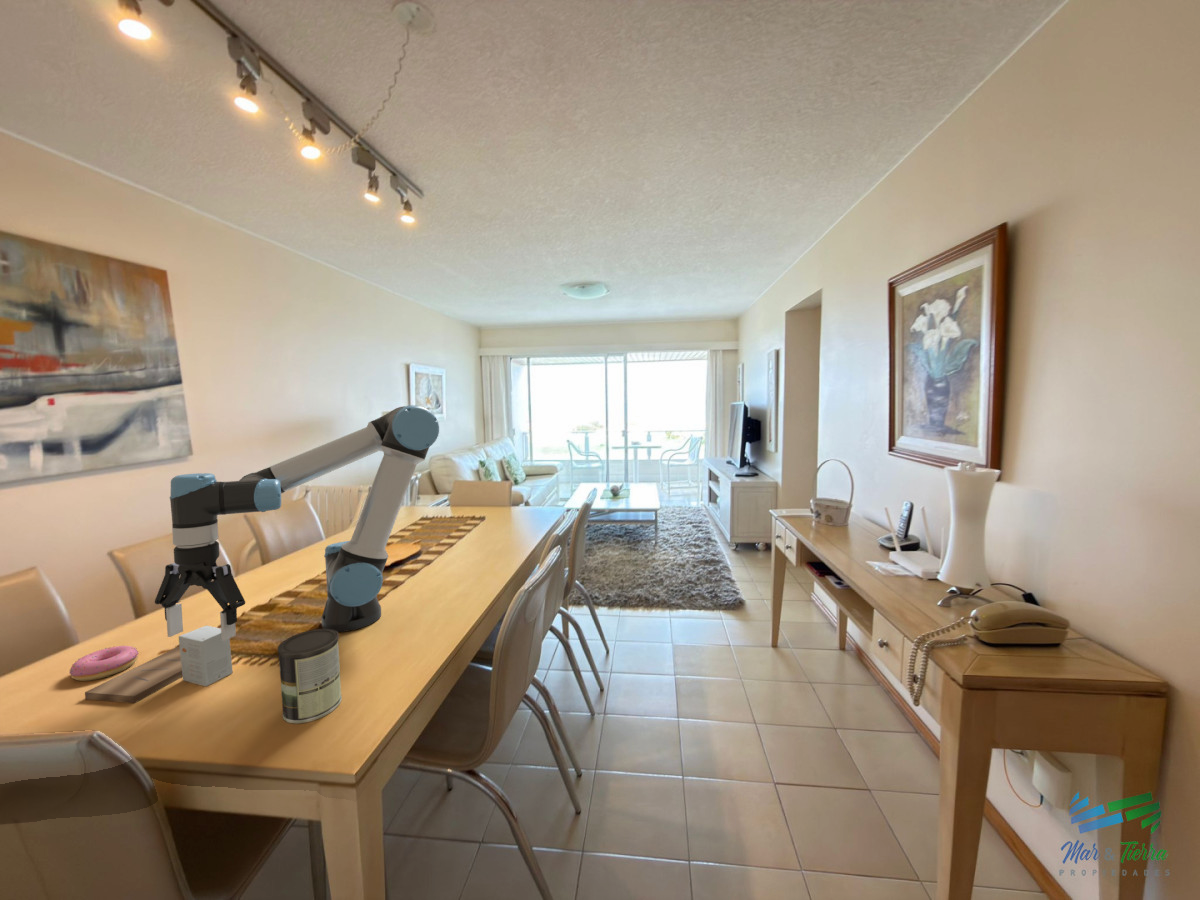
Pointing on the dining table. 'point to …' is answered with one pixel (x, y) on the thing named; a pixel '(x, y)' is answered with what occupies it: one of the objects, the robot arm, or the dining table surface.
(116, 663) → the doughnut
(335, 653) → the coffee can
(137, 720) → the dining table surface
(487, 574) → the dining table surface
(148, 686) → the board
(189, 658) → the small box
